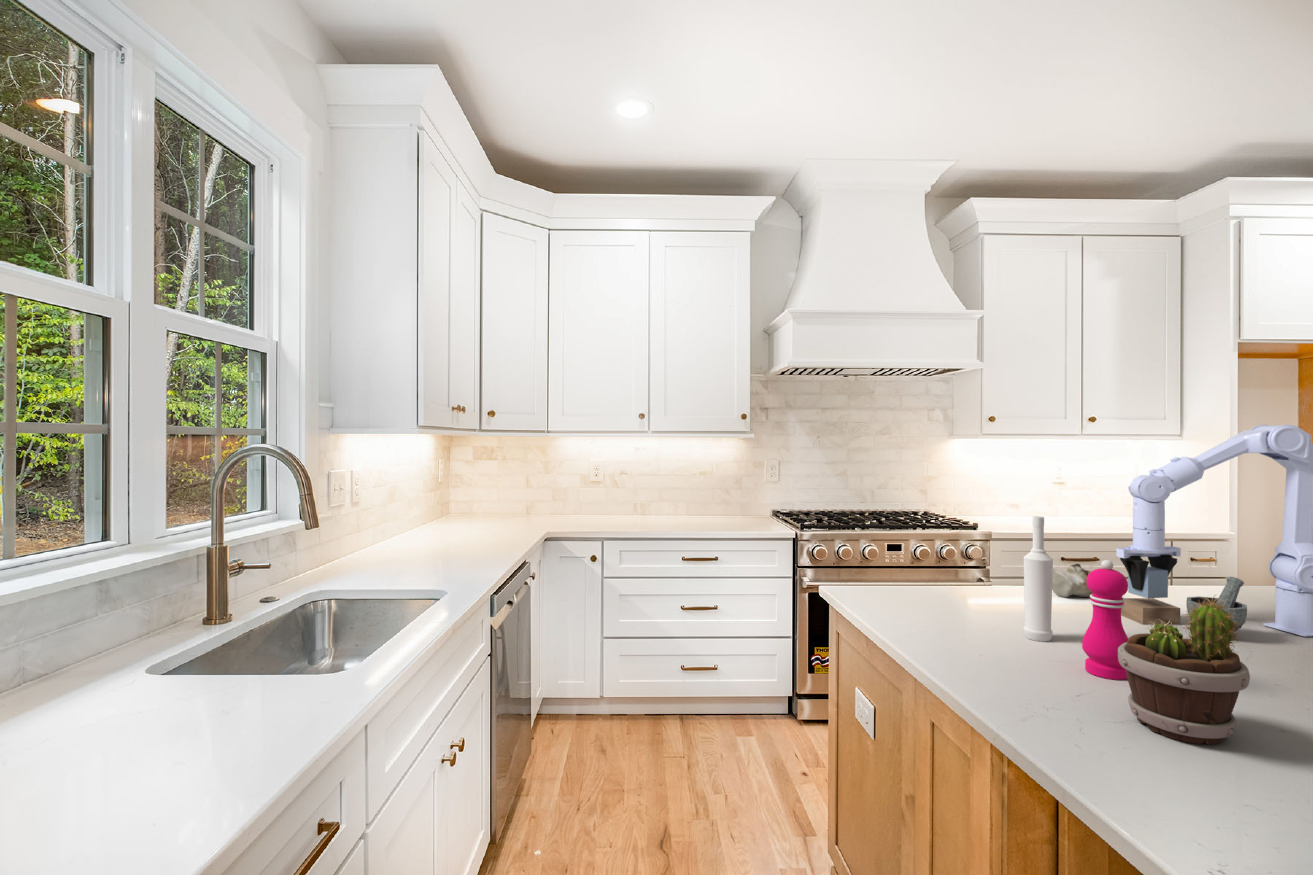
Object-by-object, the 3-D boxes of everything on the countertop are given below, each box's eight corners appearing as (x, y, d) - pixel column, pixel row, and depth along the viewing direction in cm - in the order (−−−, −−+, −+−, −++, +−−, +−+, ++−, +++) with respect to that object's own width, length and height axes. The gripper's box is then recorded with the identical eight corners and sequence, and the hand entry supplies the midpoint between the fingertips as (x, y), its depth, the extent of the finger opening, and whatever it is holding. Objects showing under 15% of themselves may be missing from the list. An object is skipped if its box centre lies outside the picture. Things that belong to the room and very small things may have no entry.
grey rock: (1038, 558, 169) (1092, 560, 170) (1036, 590, 169) (1090, 593, 170) (1066, 567, 158) (1124, 569, 159) (1064, 601, 158) (1121, 604, 159)
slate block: (1147, 591, 147) (1147, 565, 147) (1167, 597, 142) (1168, 570, 142) (1128, 592, 146) (1128, 566, 146) (1148, 598, 141) (1148, 571, 141)
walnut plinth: (1153, 615, 148) (1153, 598, 148) (1180, 626, 140) (1180, 608, 140) (1117, 615, 148) (1117, 598, 148) (1142, 625, 140) (1143, 607, 140)
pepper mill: (1140, 682, 108) (1141, 565, 108) (1093, 679, 109) (1093, 563, 109) (1119, 667, 115) (1119, 556, 115) (1074, 664, 116) (1075, 555, 116)
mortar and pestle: (1221, 644, 127) (1221, 584, 127) (1174, 630, 136) (1174, 574, 136) (1265, 640, 129) (1265, 581, 129) (1216, 626, 138) (1216, 571, 138)
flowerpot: (1110, 731, 91) (1111, 591, 90) (1124, 697, 102) (1125, 573, 102) (1249, 767, 81) (1251, 610, 81) (1248, 726, 92) (1250, 588, 92)
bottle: (1044, 634, 134) (1045, 515, 133) (1057, 642, 128) (1058, 518, 128) (1018, 633, 134) (1019, 514, 134) (1030, 641, 129) (1031, 518, 129)
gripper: (1160, 525, 149) (1160, 583, 149) (1105, 526, 147) (1104, 585, 147) (1189, 529, 142) (1189, 590, 142) (1132, 531, 140) (1131, 593, 140)
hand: (1148, 588), depth 144 cm, fingers closed on slate block, 5 cm apart
